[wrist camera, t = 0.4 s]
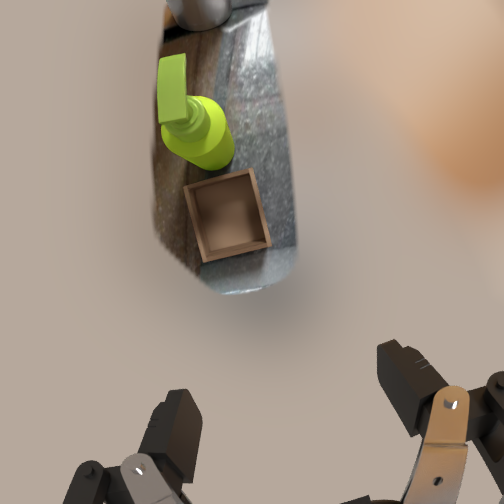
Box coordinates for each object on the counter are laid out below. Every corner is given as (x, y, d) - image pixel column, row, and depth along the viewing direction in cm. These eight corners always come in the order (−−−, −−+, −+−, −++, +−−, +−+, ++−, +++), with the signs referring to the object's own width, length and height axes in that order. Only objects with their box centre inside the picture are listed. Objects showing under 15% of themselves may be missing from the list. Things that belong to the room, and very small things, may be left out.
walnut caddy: (191, 187, 36) (182, 186, 31) (252, 171, 35) (252, 167, 31) (209, 254, 37) (203, 262, 33) (269, 239, 37) (271, 245, 32)
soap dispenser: (232, 119, 34) (212, 44, 14) (236, 168, 35) (219, 135, 16) (189, 124, 34) (131, 62, 14) (192, 173, 35) (130, 151, 16)
